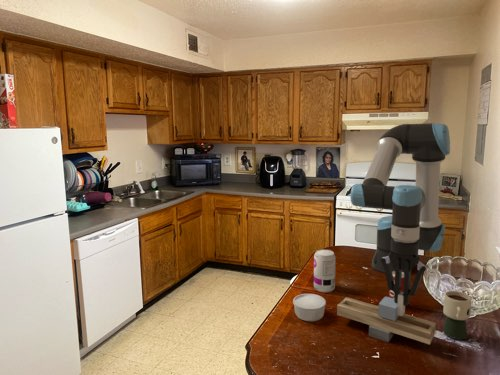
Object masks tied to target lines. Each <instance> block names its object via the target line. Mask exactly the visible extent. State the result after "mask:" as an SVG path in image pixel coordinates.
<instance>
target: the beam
mask: <svg viewBox="0 0 500 375" xmlns="http://www.w3.org/2000/svg"><path fill="white" fill-rule="evenodd" d="M336 306H337V307H336V310H337V312H336V313H337V314H336V315H337V316H340V317H343V318H346V319H348V320H349V319H350V320H352V321H356V322H360V323H362V324H366V325H367V326H368V337H372V338H375V339H378V340H380V341H383V342H386V343H389V342H390V341H391V339H392V338H393V336H394V335H395V334H396V335H399V336H402V337H404V338H405V337H406V338H407V339H412V340H414V341H418V342H420V343H422V344H423V343H424V344H426V345H429V346H430V345H431V344H432V341H433V338H434V337H435V335H436V328H437V323H436V322H434V321H430V320H427V319H423V318H420V317H416V316H413V315H409V314H406V313H404V315H403V316H398V318H397V320H395V321H393V320H390V319H386V318H383V317H380V316H378V309H379V305H375V304H372V303H368V302H365V301H361V300H358V299H355V298H351V297H348V296H346V297H345V298H343V300H341V301H340V302H339V303H338V304H337V305H336Z"/></svg>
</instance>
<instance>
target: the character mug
mask: <svg viewBox="0 0 500 375" xmlns="http://www.w3.org/2000/svg"><path fill="white" fill-rule="evenodd" d="M443 299H444V300H443V311H442V312H443V314H444V316H446V317H445V321H444V323H443V324H444V325H443V330H442V331H443V334H444V335H446V336H448V337H450V338H454V339H457V340H464V339H466V338H467V322H466V320H469V319H470V317H471V310H472V297H471V296H470V295H469V294H467V293H465V292H462V291H457V290H447V291H445V292H444V298H443Z"/></svg>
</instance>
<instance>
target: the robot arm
mask: <svg viewBox="0 0 500 375" xmlns="http://www.w3.org/2000/svg"><path fill="white" fill-rule="evenodd" d="M375 150H376V151H375V154H374V156H373V159H372V160H371V162H370V166H369V167H368V170H367V173H366V174H365V176H364V179H363V182H362V183H355V184H353V185H352V186H351V190H350V195H349V196H350V203H351V205H352V206H354V207H361V208H364V209H365V208H368V209H376V210H377V209H380V210H386V211H387V210H388V211H392V212H391V215H386V216H382V217H380V218H379V219H378V220H377V227H376V229H377V230H376V250H375V253H374V255H373V258H372V259H371V267H372V268H373V269H374V270H376V271H379V272H381V273H385V279H386V284H387V288H388V290H392V291H393V292H394V293H395V297H394V302H395V303H397V304H398V306H397V315H399V316H403V315H404V314H406V307H407V306H408V305H409V303H410V296H411V297H413V296H415V294H416V293H417V291H418V288H419V285H420V283H421V281H422V277H423V274H424V272H425V271H427V269H428V265H427V264H426V263H425V264H424V263H423V262H421V259H420V256H419V250H420V251H425V252H426V251H427V252H435V253H437V252H439V251H440V250H441V249H442V245H443V242H444V241H443V240H444V235H445V231H446V225H445V224H443V223H442V219H441V218H440V217H439V201H440V200H439V198H440V180H441V178H440V177H441V176H440V175H441V163H442V162H444V161H445V160H446V156H448V155H450V153H451V137H450V131H449V127H448V126H447V125H446V123H435V122H433V123H432V122H431V123H428V122H427V123H403V124H398V125H396V126H393V127H392V128H390V129H388V130H387V131H385V132H384V133H383V134H382V135H381V136H380V138H379V139H378V141H377V143H376V146H375ZM404 154H406V155H411V159H412V161H414V162H415V163H416V164H415V185H411V184H410V185H409V184H401V185H396V186H395V185H394V186H393V185H388V183H389V179H390V176H391V174H392V171H393V169H394V166H395V163H396V161H397V158H398V157H400V156H401V155H404ZM416 266H417V268H416V269H417V273H416V274H415V277H414V280H413V283H412V285H411V279H412V278H411V277H412V269H414V268H415V267H416ZM393 271H395V284H394V279H393V274H392V272H393ZM402 272H403V273H404V290H403V292H400V290H401V277H402ZM411 286H412V287H411Z"/></svg>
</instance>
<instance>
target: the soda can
mask: <svg viewBox="0 0 500 375" xmlns="http://www.w3.org/2000/svg"><path fill="white" fill-rule="evenodd" d="M392 274H393V279H394V284H395V271H393V272H392ZM388 290H389V289H388ZM403 290H404V273H403V272H402V277H401V290H400V292H403ZM388 292H389V294H388V295H389V296H388V297H390V298H393V299H394V297H395V293H394V292H393V291H392V290H389V291H388Z"/></svg>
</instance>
